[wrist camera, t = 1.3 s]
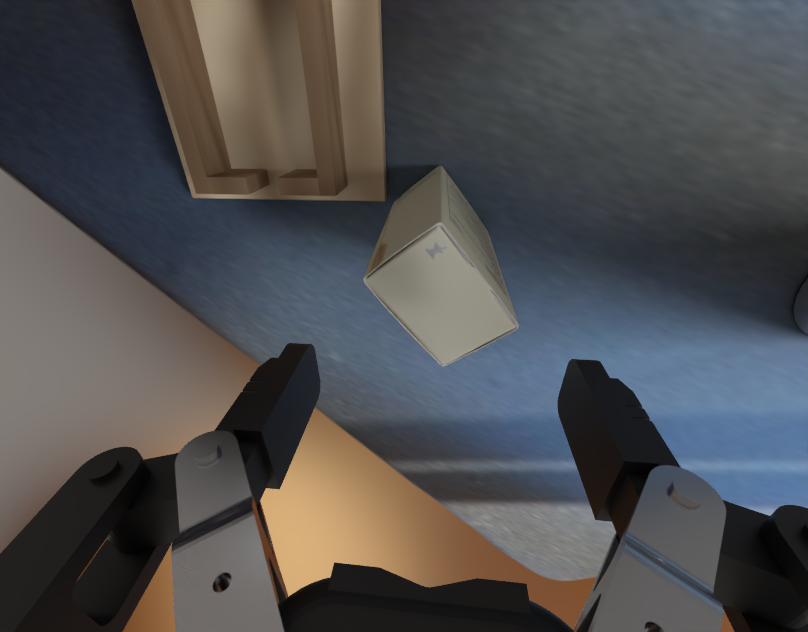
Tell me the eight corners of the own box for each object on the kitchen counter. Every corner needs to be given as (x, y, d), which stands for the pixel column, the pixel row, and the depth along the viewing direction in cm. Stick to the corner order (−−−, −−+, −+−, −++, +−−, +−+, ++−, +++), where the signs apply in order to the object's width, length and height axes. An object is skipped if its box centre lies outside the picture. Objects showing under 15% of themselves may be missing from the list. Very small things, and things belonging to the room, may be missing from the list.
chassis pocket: (378, -60, 19) (362, -96, 15) (387, 197, 25) (377, 213, 22) (129, -47, 20) (63, -77, 16) (200, 194, 27) (164, 209, 23)
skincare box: (391, 202, 25) (352, 275, 15) (441, 161, 24) (436, 212, 13) (444, 269, 28) (441, 373, 17) (493, 237, 26) (523, 330, 16)
